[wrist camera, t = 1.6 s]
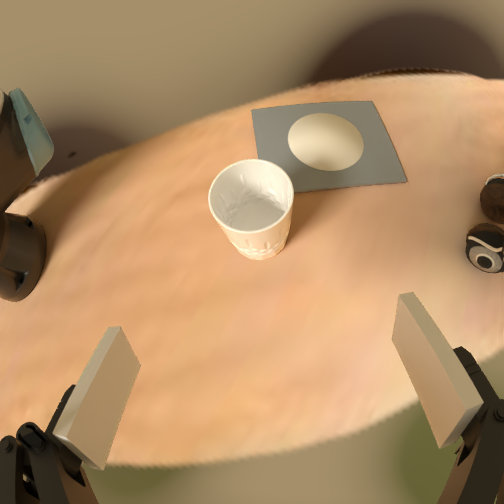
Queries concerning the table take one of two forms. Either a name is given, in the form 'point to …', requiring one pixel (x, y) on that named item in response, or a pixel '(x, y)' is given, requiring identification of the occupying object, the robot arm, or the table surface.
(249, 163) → the white cup
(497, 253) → the headset
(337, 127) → the card
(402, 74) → the table surface
